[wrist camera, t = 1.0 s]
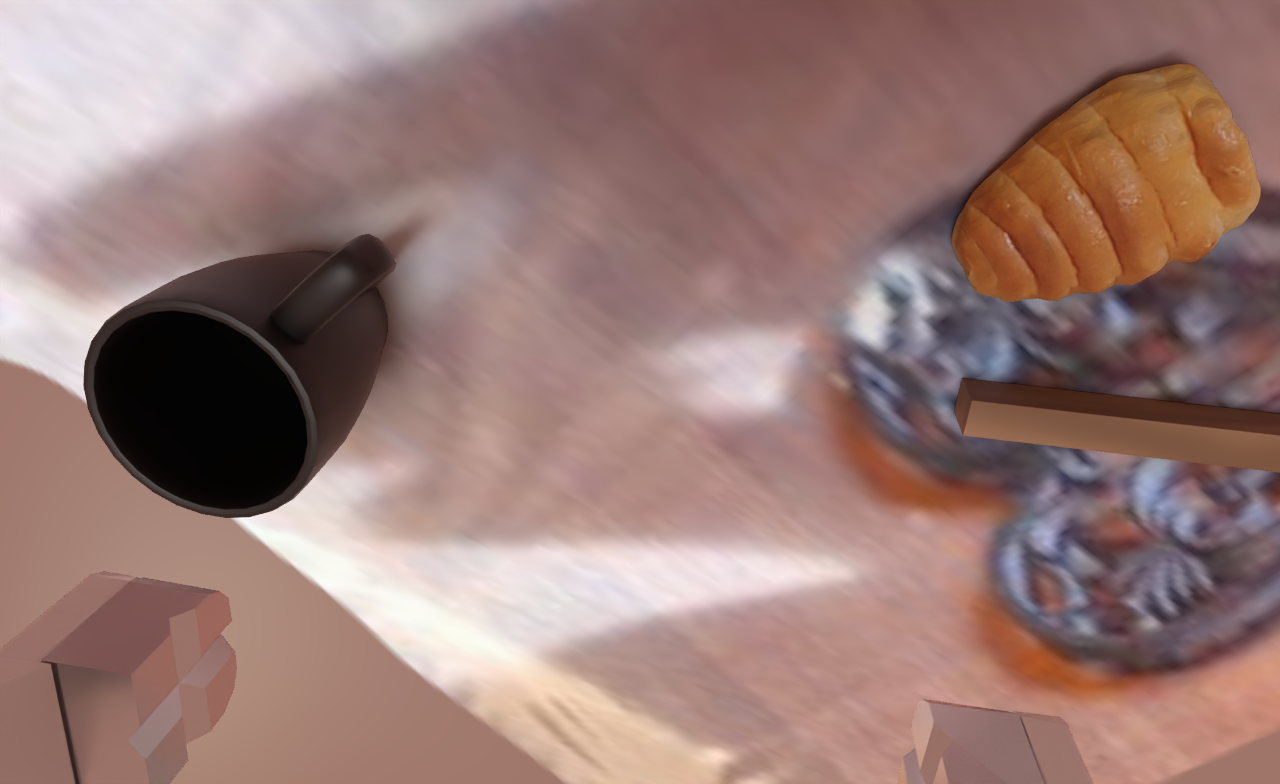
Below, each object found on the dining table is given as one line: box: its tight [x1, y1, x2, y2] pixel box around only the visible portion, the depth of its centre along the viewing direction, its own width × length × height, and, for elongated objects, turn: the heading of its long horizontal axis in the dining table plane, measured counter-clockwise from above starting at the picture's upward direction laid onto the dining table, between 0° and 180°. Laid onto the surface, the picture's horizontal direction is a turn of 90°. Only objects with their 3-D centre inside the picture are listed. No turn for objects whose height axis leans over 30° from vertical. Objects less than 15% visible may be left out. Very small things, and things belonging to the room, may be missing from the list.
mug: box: [84, 234, 396, 518], centre depth 34 cm, size 8×12×10 cm
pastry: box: [952, 64, 1260, 302], centre depth 31 cm, size 9×7×4 cm
